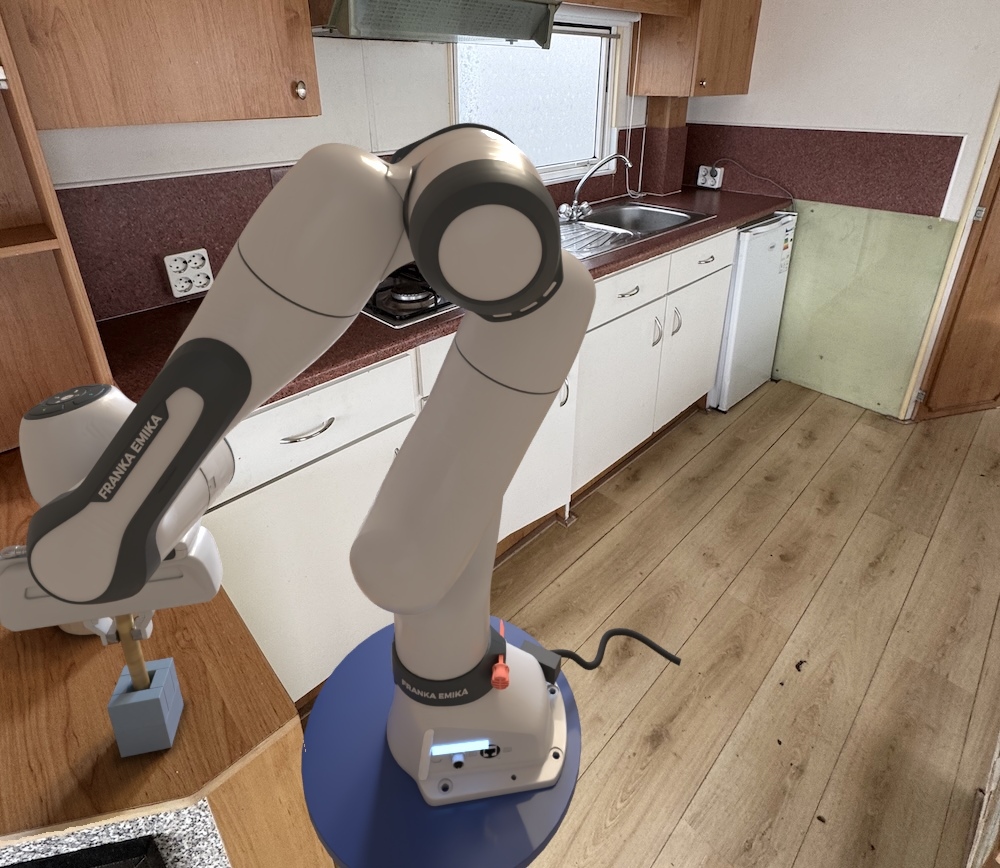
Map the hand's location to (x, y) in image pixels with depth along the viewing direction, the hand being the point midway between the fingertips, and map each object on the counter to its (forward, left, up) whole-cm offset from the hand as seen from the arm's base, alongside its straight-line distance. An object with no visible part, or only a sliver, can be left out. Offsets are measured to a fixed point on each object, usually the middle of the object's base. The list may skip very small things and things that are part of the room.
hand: (129, 637), depth 64 cm
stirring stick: (0, 0, -10) cm, 10 cm away
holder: (0, 0, -15) cm, 15 cm away
